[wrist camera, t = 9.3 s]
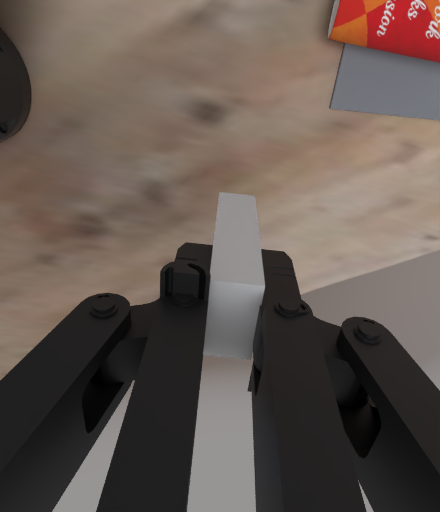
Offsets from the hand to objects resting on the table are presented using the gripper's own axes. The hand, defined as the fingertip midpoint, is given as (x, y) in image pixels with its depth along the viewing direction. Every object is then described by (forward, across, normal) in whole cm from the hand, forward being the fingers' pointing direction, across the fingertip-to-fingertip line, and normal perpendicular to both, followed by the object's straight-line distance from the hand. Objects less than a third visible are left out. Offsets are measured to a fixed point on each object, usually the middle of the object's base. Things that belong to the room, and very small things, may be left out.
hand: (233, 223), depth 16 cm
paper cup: (+29, +8, +10) cm, 32 cm away
